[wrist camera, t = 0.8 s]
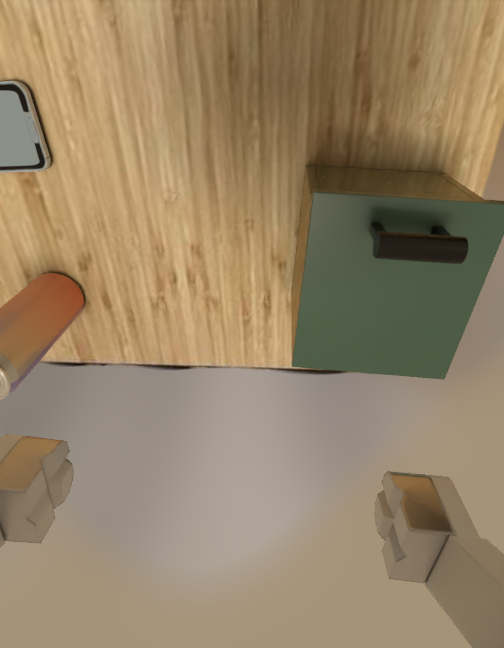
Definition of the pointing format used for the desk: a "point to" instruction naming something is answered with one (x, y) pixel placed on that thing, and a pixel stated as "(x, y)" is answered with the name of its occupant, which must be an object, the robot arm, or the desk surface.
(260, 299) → the desk surface
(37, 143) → the smartphone
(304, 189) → the dark green box
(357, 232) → the lid
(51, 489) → the robot arm
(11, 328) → the beverage can
